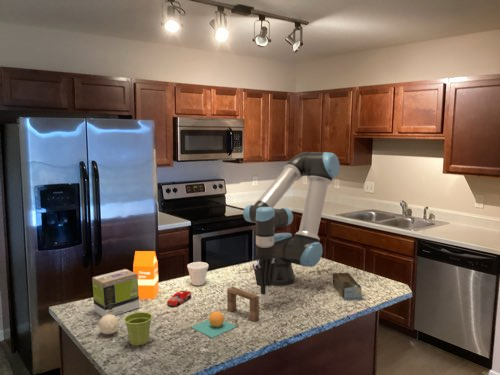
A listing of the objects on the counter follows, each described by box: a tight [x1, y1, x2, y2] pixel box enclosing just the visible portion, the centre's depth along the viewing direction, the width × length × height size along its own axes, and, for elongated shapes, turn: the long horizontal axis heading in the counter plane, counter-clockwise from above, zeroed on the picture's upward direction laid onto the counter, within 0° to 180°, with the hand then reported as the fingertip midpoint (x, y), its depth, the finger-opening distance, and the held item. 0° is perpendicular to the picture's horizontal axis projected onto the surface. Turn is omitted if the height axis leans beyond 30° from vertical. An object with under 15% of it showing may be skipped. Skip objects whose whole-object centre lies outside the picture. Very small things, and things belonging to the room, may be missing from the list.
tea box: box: [91, 268, 140, 318], centre depth 170 cm, size 15×10×15 cm, turn 134°
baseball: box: [98, 314, 120, 335], centre depth 150 cm, size 7×7×7 cm
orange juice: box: [132, 250, 160, 300], centre depth 185 cm, size 8×9×20 cm
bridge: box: [226, 286, 260, 322], centre depth 166 cm, size 3×14×9 cm, turn 46°
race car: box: [166, 290, 192, 308], centre depth 179 cm, size 13×5×4 cm, turn 153°
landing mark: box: [190, 319, 238, 339], centre depth 155 cm, size 12×12×1 cm
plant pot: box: [123, 311, 153, 347], centre depth 144 cm, size 9×9×9 cm
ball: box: [208, 311, 225, 327], centre depth 156 cm, size 6×6×6 cm
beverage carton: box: [332, 272, 362, 301], centre depth 189 cm, size 8×19×7 cm, turn 4°
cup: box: [186, 261, 209, 287], centre depth 200 cm, size 10×10×9 cm
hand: (265, 300), depth 175 cm, fingers closed
